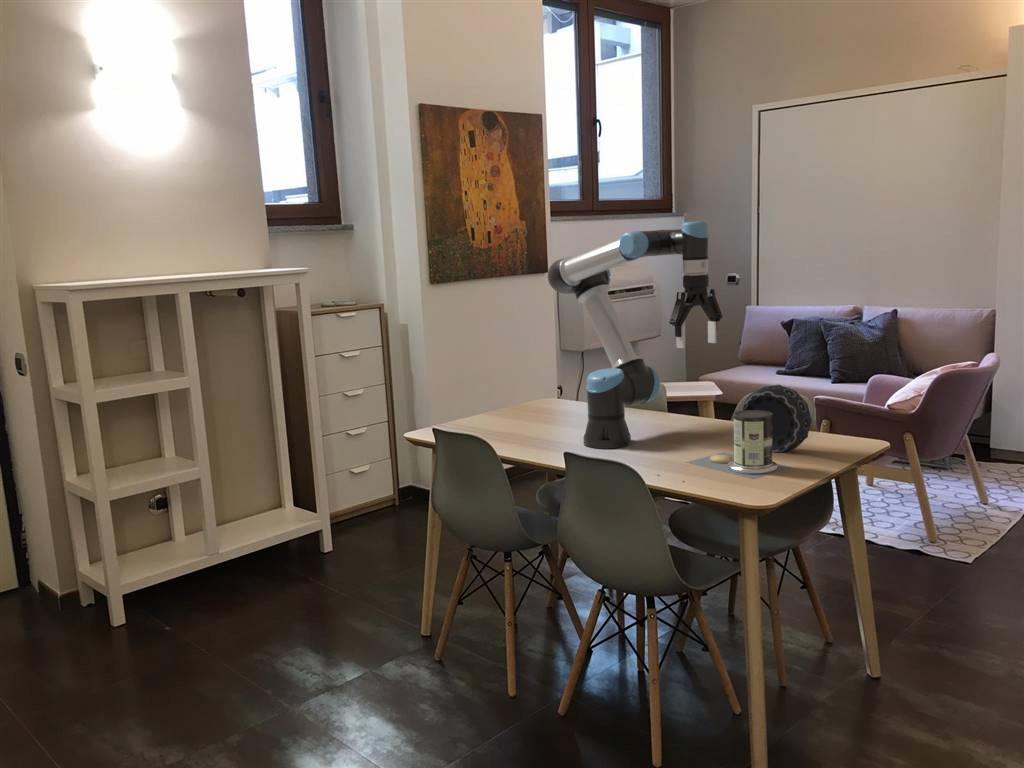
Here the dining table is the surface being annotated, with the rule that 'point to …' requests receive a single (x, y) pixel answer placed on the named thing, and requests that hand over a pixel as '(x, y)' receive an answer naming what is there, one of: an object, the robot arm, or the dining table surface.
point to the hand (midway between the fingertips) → (696, 345)
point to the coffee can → (753, 439)
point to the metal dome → (751, 471)
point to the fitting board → (722, 461)
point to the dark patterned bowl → (782, 415)
